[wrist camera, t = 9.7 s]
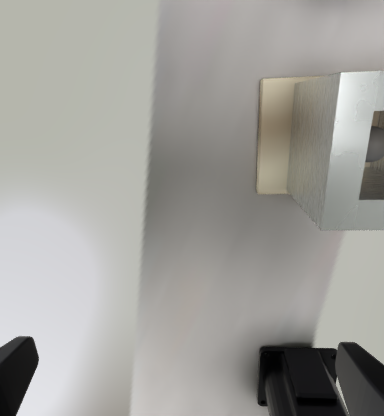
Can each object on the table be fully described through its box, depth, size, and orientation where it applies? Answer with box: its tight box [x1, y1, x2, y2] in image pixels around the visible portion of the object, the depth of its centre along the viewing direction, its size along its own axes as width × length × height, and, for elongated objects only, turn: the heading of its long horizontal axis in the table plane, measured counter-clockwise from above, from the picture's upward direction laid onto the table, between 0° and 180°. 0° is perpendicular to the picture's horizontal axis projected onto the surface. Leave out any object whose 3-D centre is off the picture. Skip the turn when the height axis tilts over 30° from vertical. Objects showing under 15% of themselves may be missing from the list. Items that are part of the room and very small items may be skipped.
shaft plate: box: [256, 76, 384, 194], centre depth 16 cm, size 7×10×5 cm
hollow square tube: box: [286, 71, 384, 230], centre depth 15 cm, size 6×6×6 cm
